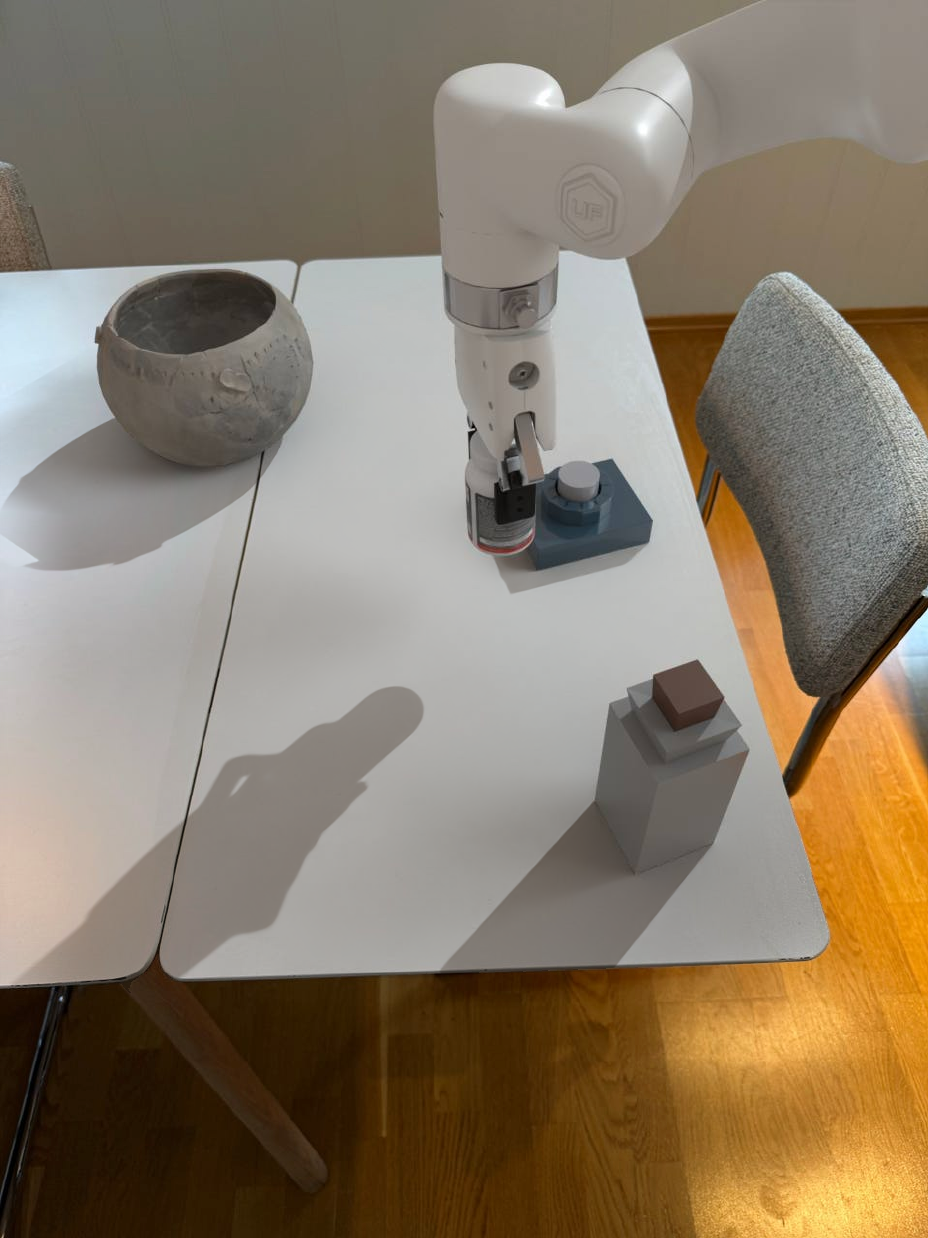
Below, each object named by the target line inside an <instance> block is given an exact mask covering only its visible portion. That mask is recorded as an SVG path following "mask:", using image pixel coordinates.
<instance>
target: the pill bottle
mask: <svg viewBox="0 0 928 1238" xmlns="http://www.w3.org/2000/svg"><path fill="white" fill-rule="evenodd" d="M511 444H516V443H515V439H513V441H512V443H511ZM470 457H471V458H470V460H469V459H468V461H467V463H466V466H465V470H464V487H465V504H466V505H465V507H466V526H467V536H468V539H469V541H470V543H471V544H472V545H473V547H475V548H476V550H478V551H479V552H481V553H484V554H486V555H489V556H493V557H509V556H514V555H516V554H519V553H521V552H523V551H524V550H525V549H526V547H528V546H529V544H530V543H531V542H532V540H533V538H534V534H535V515H534V516H533V517H531V518H527V519H523V520H519V521H515V522H511V523H507V524H503V525H498V524H497V523H496V521H495V515H494V483H496V482H498V481H499V480H498V473H497V465H496V458H494V457H493V456H492V455H491V454H490V452H489V451H488V449H487V447H486V445H485V443H484V442H483V440H482V438H481V436H480V434H479V432H478V430H477V431H476V432H475V433H474V434H473V436H472V438H471V440H470ZM507 465H508V473H510V472H512V471H516V470H519V469H520V461H519V456H516V457H512V458H508V459H507ZM535 513H536V505H535Z"/></svg>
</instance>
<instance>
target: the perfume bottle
mask: <svg viewBox="0 0 928 1238" xmlns="http://www.w3.org/2000/svg"><path fill="white" fill-rule="evenodd" d="M625 689H626V693H627V696H626V697H622V698H620V699H617V700H614V701H611V702H609V703H608V711H607V718H606V724H605V729H604V730H605V731H604V736H603V743H602V749H601V757H600V762H599V769H598V770H599V771H598V775H597V776H598V777H597V782H596V789H595V795H594V802H595V803H596V806H597V807H598V809H599V811H600V813H601V815H602V816H603V818H604V820H605V822H606V824H607V825H608V828H609V829H610V831H611V833H612V835H613V837H614V839H615V840H616V843H617V844H618V846H619V848H620V849H621V851H622V853H623V855H624V857H625V859H626V861H627V863H628V865H629V866H630V868H631V870H632V872H633V874H634V875H638V874H640V873H642V872H645V871H647V870H650V869H653V868H655V867H658V866H660V865H663V864H665V863H667V862H670V861H673V860H675V859H677V858H680V857H682V856H685V855H688V854H691V853H693V852H696V851H698V850H700V849H703V848H705V847H708V846H710V845H713V844H714V843H715V841H716V839H717V836H718V833H719V831H720V828H721V826H722V824H723V821H724V818H725V815H726V812H727V810H728V807H729V805H730V801H731V800H732V797H733V795H734V792H735V789H736V787H737V784H738V781H739V779H740V776H741V773H742V771H743V769H744V766H745V763H746V762H747V758H748V755H749V753H750V750H751V748H750V747H749V745H748V744H747V743H746V741H745V739H744V738H743V737H742V735H741V733H739V731H738V730H739V729H740V728H741V727H742V726H743V724H742V723H741V721H740V720H739V718H738V717H737V716H736V714H735V712H734V711H733V710H732V709H731V707H730V706H729V705H728V703H727V702H726V700H725V698H726V696H725V695H724V694H723V692H722V691H721V689H720V688H719V687H718V686H717V684H716V683H715V681H714V679H713V678H712V677H711V675H710V674H709V672H708V671H707V670H706V668H705V667H704V666H703V664H702V663H701V661H700V660H699V659H698V658H697V659H694V660H691V661H689V662H685V663H683V664H680V665H677V666H674V667H672V668H669V669H665V670H662V671H660V672H657V673H653V674H652V678H651V679H648V680H646V681H645V680H644V681H641V682H639V683H637V684H634V685H631V686H628V687H626V688H625Z"/></svg>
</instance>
